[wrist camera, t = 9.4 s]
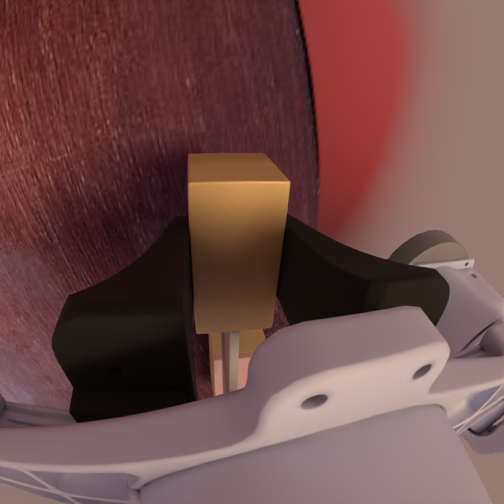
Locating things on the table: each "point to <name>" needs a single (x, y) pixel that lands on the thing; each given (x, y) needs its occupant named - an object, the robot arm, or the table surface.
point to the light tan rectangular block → (246, 350)
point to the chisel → (235, 246)
